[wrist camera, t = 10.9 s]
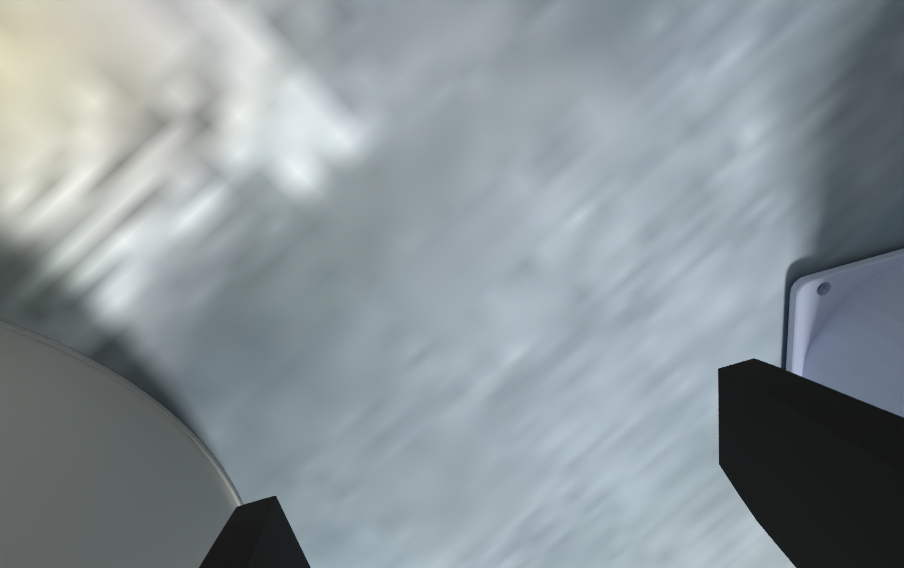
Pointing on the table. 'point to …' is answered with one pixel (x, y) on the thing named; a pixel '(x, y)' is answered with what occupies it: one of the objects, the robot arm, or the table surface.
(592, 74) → the table surface
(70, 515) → the kettle
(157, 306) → the table surface
